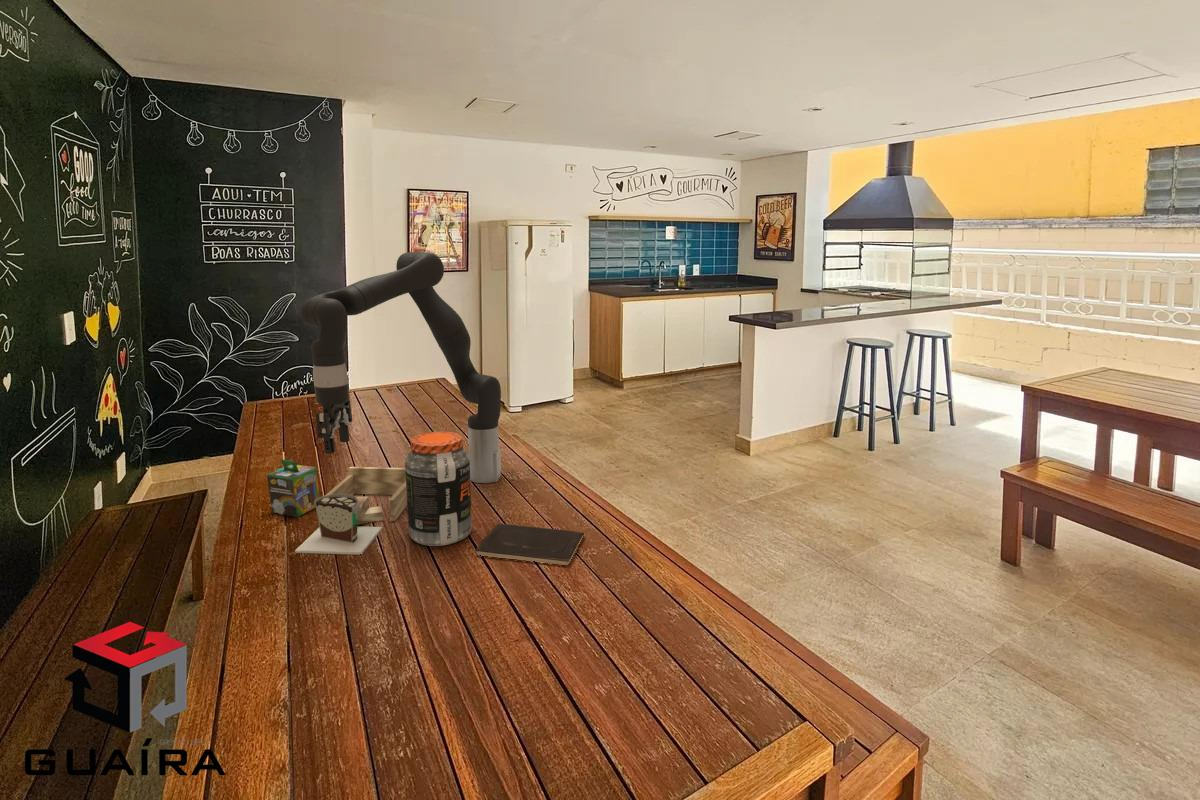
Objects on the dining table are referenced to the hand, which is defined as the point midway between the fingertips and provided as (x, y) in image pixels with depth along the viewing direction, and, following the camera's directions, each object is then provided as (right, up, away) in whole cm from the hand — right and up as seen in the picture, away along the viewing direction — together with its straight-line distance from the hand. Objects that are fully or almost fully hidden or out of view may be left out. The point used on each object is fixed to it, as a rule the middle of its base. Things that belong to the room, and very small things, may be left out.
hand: (337, 447), depth 160 cm
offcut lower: (0, -21, +15) cm, 26 cm away
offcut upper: (0, -18, +14) cm, 23 cm away
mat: (-1, -24, +4) cm, 24 cm away
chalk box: (-20, -19, +22) cm, 35 cm away
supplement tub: (+23, -23, +8) cm, 34 cm away
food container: (0, -23, +6) cm, 23 cm away
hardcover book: (+47, -25, +2) cm, 53 cm away
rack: (0, -18, +25) cm, 31 cm away
